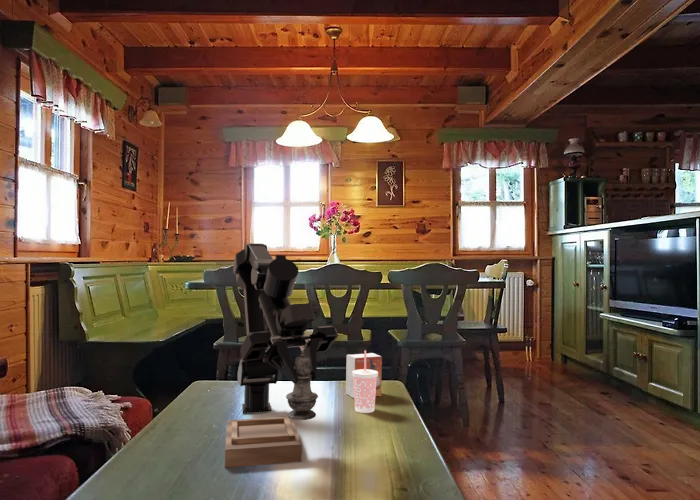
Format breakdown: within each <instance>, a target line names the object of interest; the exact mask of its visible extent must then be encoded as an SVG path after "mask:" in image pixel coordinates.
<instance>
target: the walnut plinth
mask: <svg viewBox="0 0 700 500" xmlns="http://www.w3.org/2000/svg"><path fill="white" fill-rule="evenodd" d="M225 429H226V430H225V447H224V468H225V469H226V468H235V467H236V468H237V467H238V466H239V467H251V466H261V465H262V466H265V465H277V464H288V463H289V464H290V463H302V461H303V460H302V456H303V455H302V454H303V453H302V452H303V451H302V450H303V444H302V441H301V438H300V435H299V432H298V430H297V427H296V423H295V421H294V419H290V418H289V417H288V416H280V417H264V418H263V417H261V418H258V417H257V418H244V419H230V420H226V427H225Z"/></svg>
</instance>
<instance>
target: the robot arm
mask: <svg viewBox="0 0 700 500" xmlns="http://www.w3.org/2000/svg"><path fill="white" fill-rule="evenodd" d="M286 256H287V255H286V254H276V255H275V257H274V258H273V257H272V255H271V254H270V252H269V251H268V246H267V244H264V243H252V242H251V243H250V242H249V243H247V244H245V246H244V248H243V249H242V250H240V251H238V252H237V253H236V254H235V256H234V260H233V266H232V270H233V271H232V272H233V275H235V277H236V280H235V281H236V284H237V285H238V286H239V287H240V288H241V290H242V291H243V300H244V312H245V315H244V316H245V328H246V329H245V330H246V337H245V339H244V341H243V343H242V345H241V347H240V351H239V352H240V353H239V354H240V356H241V358H240V359H239V364H238V369H237V373H236V374H237V383H238V385H239V386H240V387H243V386H244V388H243V389H244V391H243V394H244V397H243V398H244V399H243V400H244V401H243V403H242V404H241V405H242V406H241V407H242V409H241V410H242V414H255V413H271V412H272V407H271V403H270V385H271V384H274V385H275V384H277V382H278V374H279V372H280V373H282V375H284V376H285V377H286V378H287V379H288V380H289V381H290V382H292V383H293V385H294V384H296V383H297V382H298V377H297V374H296V371H295V365H294V364H293V360H292V359H291V356H290V354H289V348H297V347H299V348H300V351H301V352H302V350H303V351H304V352H305V353H304V355H306V356H308V357H309V358H310V374H312V377H311V379H310V380H312V381H313V382H315V381H316V380H317V378H318V374H317V373H318V369H317V368H318V367H317V355H318V354H320V353H322V354H323V353H326V352H328V351H329V350H330V348H331V347H332V346H333V344H334V343H335V341H336V340H337V338H338V337H339V334H338V331H337V329H336V327H335V326H333V325H324V326H323V325H322V326H316V327H315V328H314V329H313V331H312V333H311V334H308V333H307V334H304V332H306V331H307V330H308V329H309V325H308V324H309V323H310V322H315V320H316V319H317V318H319V317H321V315H322V309H321V307H320V304H319V302H318V301H317V300H310V301H308V302H306V303H304V302H303V303H291V300H290V298H289V297H291V296H292V294H293V291H294V287H295V285H296V280H297V278H298V274H299V267H298V266H297V265H296V263H294V262H293V261H292V260H290V259H287V257H286ZM265 321H266V324H265ZM301 352H300V354H299V356H300V355H301V354H302V353H301Z"/></svg>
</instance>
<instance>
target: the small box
mask: <svg viewBox="0 0 700 500" xmlns="http://www.w3.org/2000/svg"><path fill="white" fill-rule="evenodd" d="M345 361H346V370H345V371H346V373H345V378H346V379H345V395H348V396H349V397H351V398H352V399H354V400H355V398H354V377H353V375H352V374H353V373H352V371H354V370H359V369H364V353H355V354H346V360H345ZM382 365H383V356H381V355H379V354H377V353H374V352H368V353H366V369H370V370H375V371H378V376H377V381H376V396H380V397H382V378H383V377H382V367H383V366H382ZM376 396H375V398H377V397H376Z"/></svg>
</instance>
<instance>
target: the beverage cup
mask: <svg viewBox="0 0 700 500" xmlns="http://www.w3.org/2000/svg"><path fill="white" fill-rule="evenodd" d="M363 354H364V369H359V370H354V371H352V373H353V374H352V375H353V377H354V398H355V399H354V398H353V399H354V411H356V412H358V413H362V414H369V413H374V411H375V410H376V409H375V408H376V407H375V406H376V397H375V396H376V381H377V376H378V371H375V370H370V369H366V354H367V350H364V353H363Z"/></svg>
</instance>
